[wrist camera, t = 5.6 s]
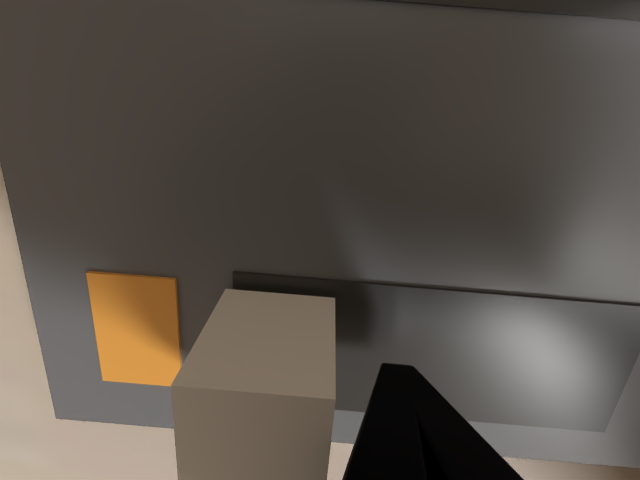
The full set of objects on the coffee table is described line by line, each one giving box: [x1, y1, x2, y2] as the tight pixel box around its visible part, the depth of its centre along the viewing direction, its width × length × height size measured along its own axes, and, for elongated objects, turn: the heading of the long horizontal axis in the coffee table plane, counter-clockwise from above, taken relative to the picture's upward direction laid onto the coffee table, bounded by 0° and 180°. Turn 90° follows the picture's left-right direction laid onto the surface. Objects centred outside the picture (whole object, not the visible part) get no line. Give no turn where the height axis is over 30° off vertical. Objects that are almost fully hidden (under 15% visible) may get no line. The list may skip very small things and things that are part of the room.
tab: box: [171, 289, 336, 480], centre depth 7 cm, size 3×2×3 cm
